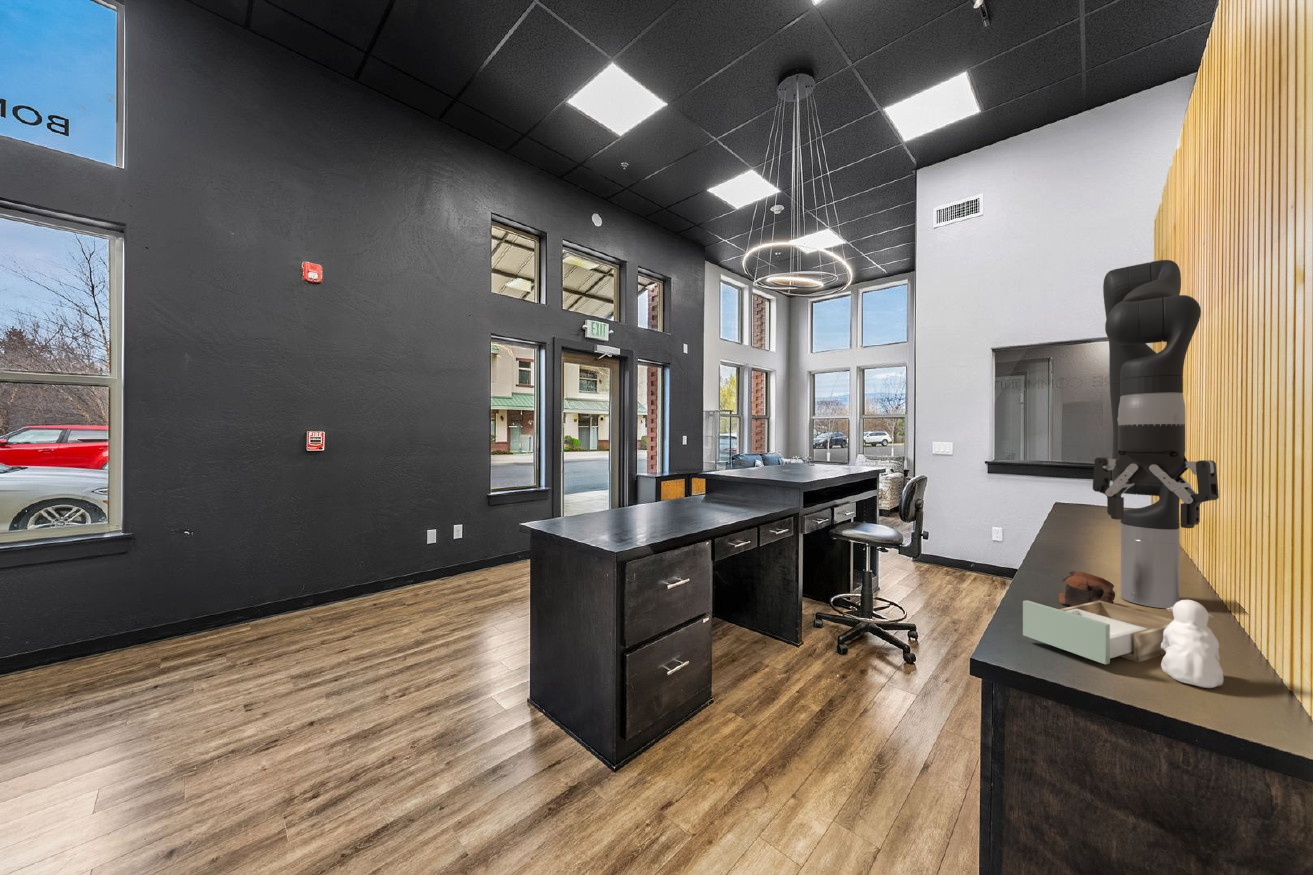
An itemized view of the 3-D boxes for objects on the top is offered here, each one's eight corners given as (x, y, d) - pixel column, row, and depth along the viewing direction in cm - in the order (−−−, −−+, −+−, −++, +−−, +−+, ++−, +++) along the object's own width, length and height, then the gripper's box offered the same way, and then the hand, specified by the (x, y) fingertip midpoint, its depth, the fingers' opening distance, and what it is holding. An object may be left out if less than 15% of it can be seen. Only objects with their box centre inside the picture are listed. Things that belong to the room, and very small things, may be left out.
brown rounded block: (1044, 599, 109) (1055, 566, 111) (1085, 619, 108) (1096, 586, 109) (1087, 606, 98) (1100, 569, 99) (1134, 629, 96) (1146, 592, 98)
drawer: (1105, 664, 75) (1105, 625, 75) (1022, 635, 86) (1022, 601, 86) (1154, 649, 80) (1154, 612, 80) (1070, 623, 92) (1070, 591, 92)
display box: (1138, 662, 78) (1138, 635, 78) (1053, 634, 90) (1053, 610, 90) (1184, 647, 84) (1184, 622, 84) (1099, 622, 95) (1099, 600, 95)
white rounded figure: (1162, 682, 72) (1162, 603, 72) (1159, 663, 78) (1159, 591, 78) (1227, 698, 68) (1227, 614, 68) (1218, 677, 74) (1218, 600, 74)
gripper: (1227, 421, 71) (1227, 529, 71) (1109, 424, 84) (1109, 515, 84) (1200, 420, 69) (1200, 533, 68) (1083, 423, 82) (1083, 517, 82)
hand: (1150, 523), depth 76 cm, fingers open, 8 cm apart
